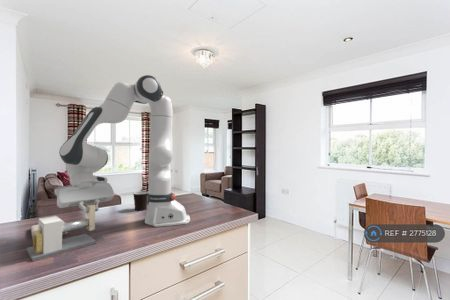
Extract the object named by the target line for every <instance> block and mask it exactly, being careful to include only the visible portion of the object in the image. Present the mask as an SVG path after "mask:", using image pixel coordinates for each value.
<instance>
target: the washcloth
mask: <svg viewBox="0 0 450 300" xmlns="http://www.w3.org/2000/svg"><path fill="white" fill-rule="evenodd" d="M61 220H62V224H64V223H66V222H65V221H64V220H63V219H61ZM36 230H38V224H34V225H31V226H30V232H31V234H30V235H31V237H32V238H31V239H32V240H31V241H32V242H33V231H36ZM65 235H68V231H66V232H62V236H65Z"/></svg>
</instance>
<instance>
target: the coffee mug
mask: <svg viewBox="0 0 450 300" xmlns="http://www.w3.org/2000/svg"><path fill="white" fill-rule="evenodd" d="M147 196H148V191H135V192H133V203H134V210H135V211H136V212H137V211H138V212H141V211H145V210H147V209H148V204H147Z"/></svg>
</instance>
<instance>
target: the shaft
mask: <svg viewBox="0 0 450 300" xmlns="http://www.w3.org/2000/svg"><path fill="white" fill-rule="evenodd" d="M95 206H96V205H95V204H94V203H91V204H86V207H88V208H89V212H88V213H86V219H85V218H84V219H81V220H75V221H70V222H65V223H64V224H62V232H66V231H67V232H70V231H73V230H79V229H83V228H86V230H88V232H91V231H95V230H96V211H95Z"/></svg>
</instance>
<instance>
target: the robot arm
mask: <svg viewBox="0 0 450 300" xmlns="http://www.w3.org/2000/svg"><path fill="white" fill-rule="evenodd" d="M134 103H137V104H143V105H145V104H148V105H149V108H150V116H149V117H150V119H149V149H148V151H149V152H148V191H147V192H148V196H147V208H146V210H147V211H146V215H145V219H144V223H145V224H146V225H149V226H153V227H154V228H159V227H168V226H179V225H187V224H189V223H190V221H191V217H190V215H189V214H188V213H187V212H186V208H185V206H184V205H183V204H181V203H180V202H179V201H177V200H176V195H175V193H174V192H172V171H171V170H172V169H171V168H172V167H171V162H172V160H173V158H174V148H173V147H174V143H173V142H174V141H173V140H174V139H173V125H174V124H173V121H174V113H173V112H174V111H173V109H174V108H173V104H172V103H173V102H172V99H171V98H170V97H169V96H167V95H164V91H163V89H162V86H161V84H160V82H159V80H158V79H157V78H156V77H155V76H153V75H148V74H145V75H142V76H141V77H139V78H138V80H137V81H136V82H135V83H134V84H130V83H128V82H125V81H118V82H116V83H115V84H114V85H113V87H112V88H111V89H110V91H109V92H108V93H107V96H106V97H105V100H104V102H103V103H102V104H100V106H95V107H93V108H92V109H90V110H89V112H88V113H87V114H86V115H85V117H84V118H83V119H82V121H81V122H80V123H79V125H78V126H77V127H76V129H75V130H74V131H73V133H72V134H71V135H70V137H69V138H67V140H66V141H65V142H64V143H62V145H61V146H60V148H59V156H60V159H61V160H62V162H64V164H65V166H66V167H65V168H66V172H67V175H68V176H69V184H70V185H61V186H57V187H56V188H54V190H53V191H54V195H55V196H56V206H57V207H58V208H59V209H65V208H70V207H77V206H78V208H79V209H80V210H82V212H83V214H87V213H88V212H89V208H88V207H87V206H85V205H87V204H92V203H93V204H95V212H98V211H99V209H100V208H99V203H102V202H109V201H112V200H113V198H114V196H115V192H114V189H113V187H112V185H111V183H110V182H108V178H107V177H106V176H98V175H96V174H95V175H94V173H97V172H98V171H100V170H101V169H102V168H104V167H105V166H106V165H107V164H108V160H109V155H108V152H107V151H106V149H103V148H101V147H98V146H95V145H92V144H89V143H86V141H87V140H88V138H89V137H90V136H91V134H92V133H93V132H94V129H96V127H97V126H100V124H119V123H122V122H124V121H125V120H126V119H127V118H128V116H129V114H130V111H131V109H132V106H133V105H134Z"/></svg>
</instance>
